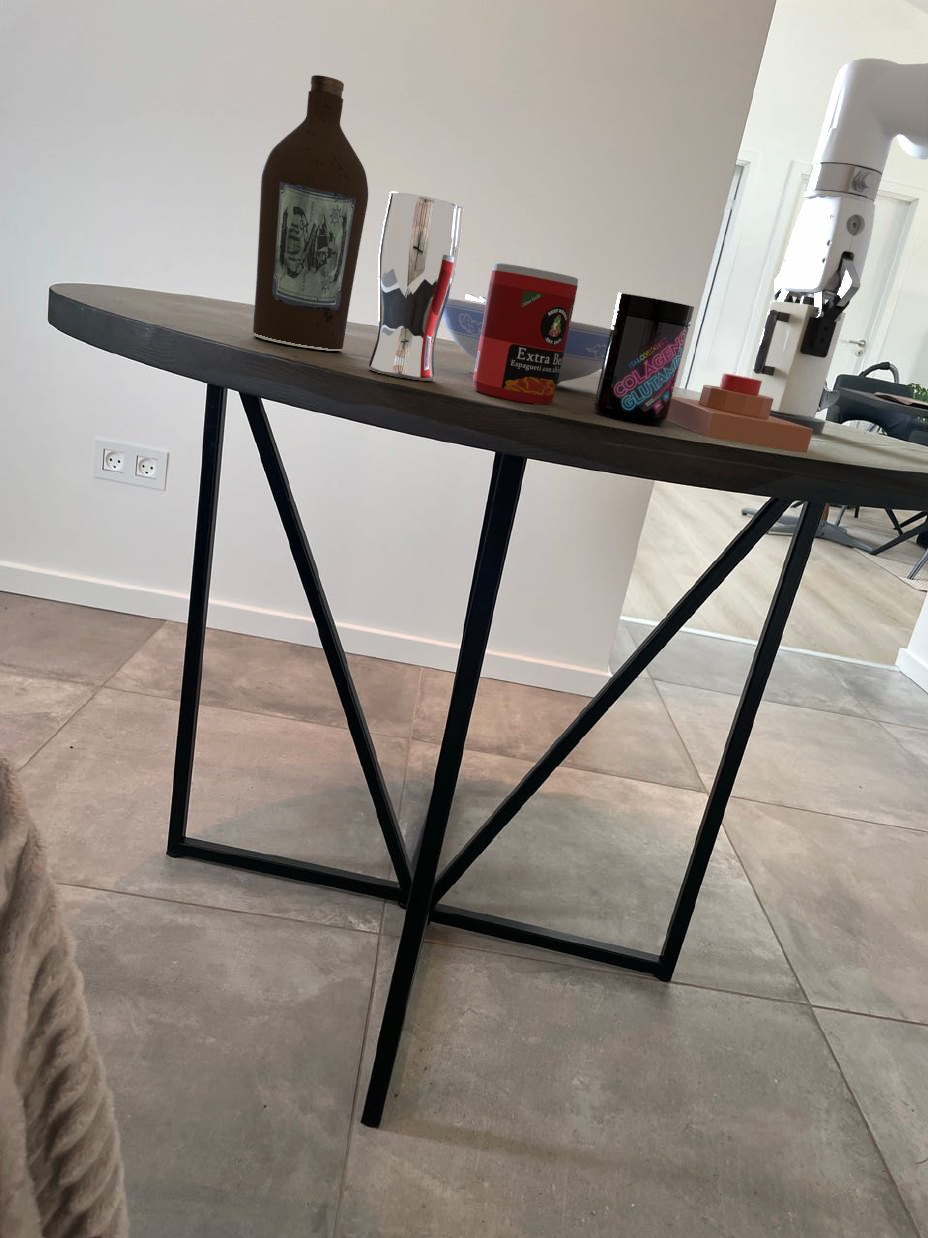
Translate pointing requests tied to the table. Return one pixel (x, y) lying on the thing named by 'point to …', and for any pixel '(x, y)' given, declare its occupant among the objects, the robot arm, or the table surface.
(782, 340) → the kettle
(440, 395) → the table surface
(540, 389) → the canned food
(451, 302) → the ramen bowl
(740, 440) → the switch block
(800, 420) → the kettle base
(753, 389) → the button
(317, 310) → the olive oil
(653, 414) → the supplement container
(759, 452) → the table surface
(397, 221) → the beer glass
